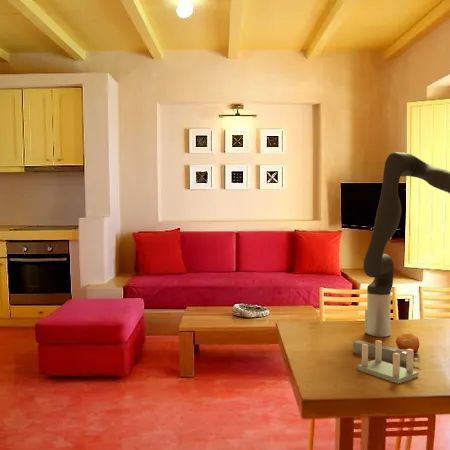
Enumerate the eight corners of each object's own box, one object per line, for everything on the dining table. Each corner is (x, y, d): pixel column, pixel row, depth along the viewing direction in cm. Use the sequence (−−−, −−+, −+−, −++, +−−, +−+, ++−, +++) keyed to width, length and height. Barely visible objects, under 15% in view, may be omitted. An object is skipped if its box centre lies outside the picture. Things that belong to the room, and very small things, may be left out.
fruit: (418, 345, 187) (419, 329, 183) (419, 361, 181) (419, 346, 177) (395, 343, 190) (396, 328, 186) (395, 359, 184) (395, 344, 180)
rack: (356, 369, 166) (357, 344, 165) (376, 363, 172) (376, 339, 171) (398, 383, 153) (398, 356, 152) (418, 376, 159) (418, 350, 158)
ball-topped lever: (351, 353, 183) (351, 342, 182) (359, 350, 187) (360, 339, 187) (415, 369, 166) (415, 357, 166) (423, 364, 170) (423, 353, 170)
